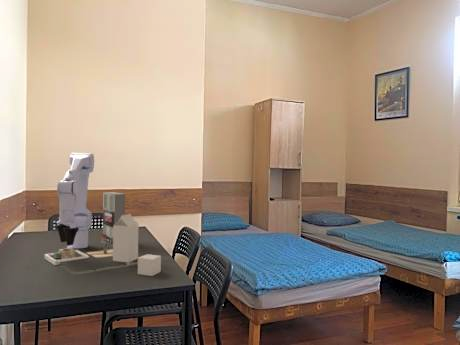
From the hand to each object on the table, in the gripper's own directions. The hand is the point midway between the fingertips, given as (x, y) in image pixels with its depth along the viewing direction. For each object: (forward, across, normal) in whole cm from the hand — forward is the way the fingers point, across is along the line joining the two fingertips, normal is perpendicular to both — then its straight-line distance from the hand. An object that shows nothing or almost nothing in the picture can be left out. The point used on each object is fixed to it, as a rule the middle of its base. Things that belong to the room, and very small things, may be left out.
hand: (66, 243), depth 156 cm
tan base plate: (+7, +3, +15) cm, 17 cm away
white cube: (+7, +37, +17) cm, 41 cm away
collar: (+6, 0, 0) cm, 6 cm away
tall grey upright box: (+7, -16, +27) cm, 32 cm away
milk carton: (+7, +18, +17) cm, 26 cm away
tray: (+6, 0, 0) cm, 7 cm away
